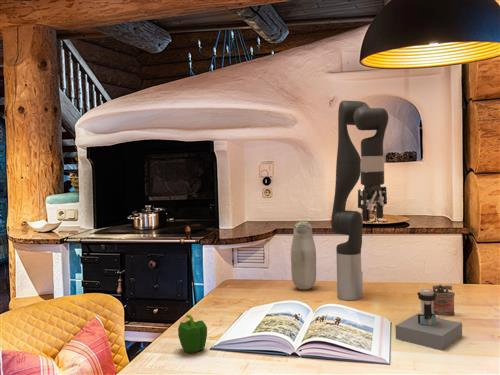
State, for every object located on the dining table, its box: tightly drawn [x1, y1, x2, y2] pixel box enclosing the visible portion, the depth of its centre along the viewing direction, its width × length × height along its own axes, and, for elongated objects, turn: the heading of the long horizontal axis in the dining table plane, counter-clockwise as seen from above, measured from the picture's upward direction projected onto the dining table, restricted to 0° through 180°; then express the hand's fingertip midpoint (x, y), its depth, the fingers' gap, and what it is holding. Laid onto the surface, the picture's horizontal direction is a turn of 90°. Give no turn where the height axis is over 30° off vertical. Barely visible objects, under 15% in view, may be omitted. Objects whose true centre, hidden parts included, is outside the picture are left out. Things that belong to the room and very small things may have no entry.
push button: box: [417, 288, 440, 325], centre depth 150 cm, size 7×5×10 cm
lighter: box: [432, 283, 456, 317], centre depth 170 cm, size 8×3×10 cm, turn 70°
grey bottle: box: [290, 220, 317, 291], centre depth 206 cm, size 10×10×28 cm
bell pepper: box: [177, 313, 208, 354], centre depth 146 cm, size 8×8×10 cm
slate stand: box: [395, 313, 463, 351], centre depth 150 cm, size 14×14×4 cm
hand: (373, 219), depth 166 cm, fingers open, 8 cm apart
